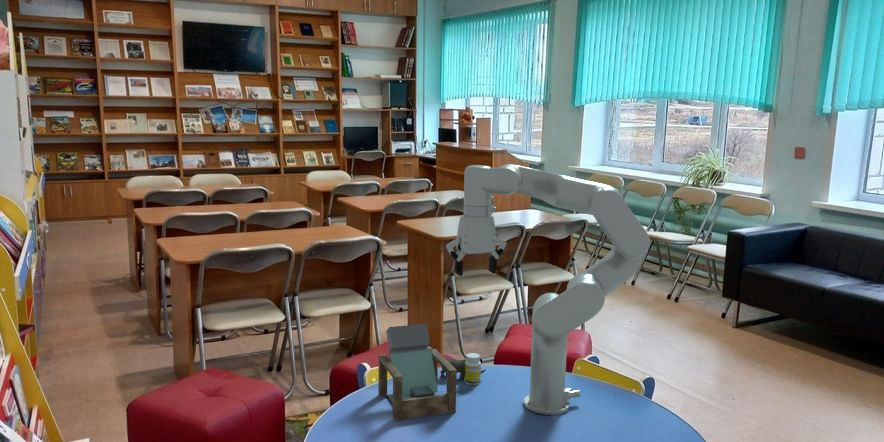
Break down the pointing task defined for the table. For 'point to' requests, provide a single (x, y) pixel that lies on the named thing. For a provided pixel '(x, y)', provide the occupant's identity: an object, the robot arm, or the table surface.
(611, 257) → the robot arm
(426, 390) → the block
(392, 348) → the grey and green slab
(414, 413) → the frame
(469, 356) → the supplement bottle
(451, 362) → the rhino figurine
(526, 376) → the table surface
